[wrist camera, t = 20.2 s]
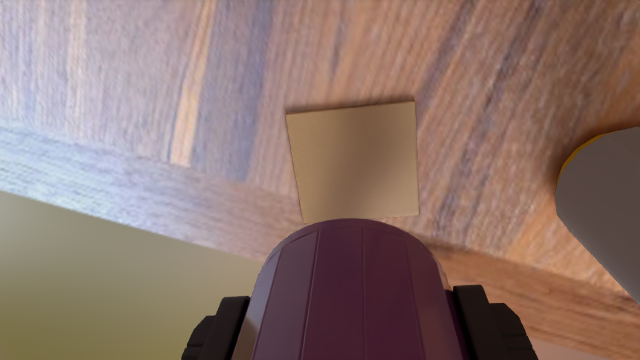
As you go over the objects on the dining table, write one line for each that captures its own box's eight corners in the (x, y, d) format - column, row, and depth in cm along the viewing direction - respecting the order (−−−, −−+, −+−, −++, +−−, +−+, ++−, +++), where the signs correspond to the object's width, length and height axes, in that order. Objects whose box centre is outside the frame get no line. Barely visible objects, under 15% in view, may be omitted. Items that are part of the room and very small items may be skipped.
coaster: (303, 221, 27) (303, 223, 26) (285, 113, 24) (284, 114, 23) (418, 213, 26) (419, 215, 25) (414, 99, 23) (415, 101, 22)
